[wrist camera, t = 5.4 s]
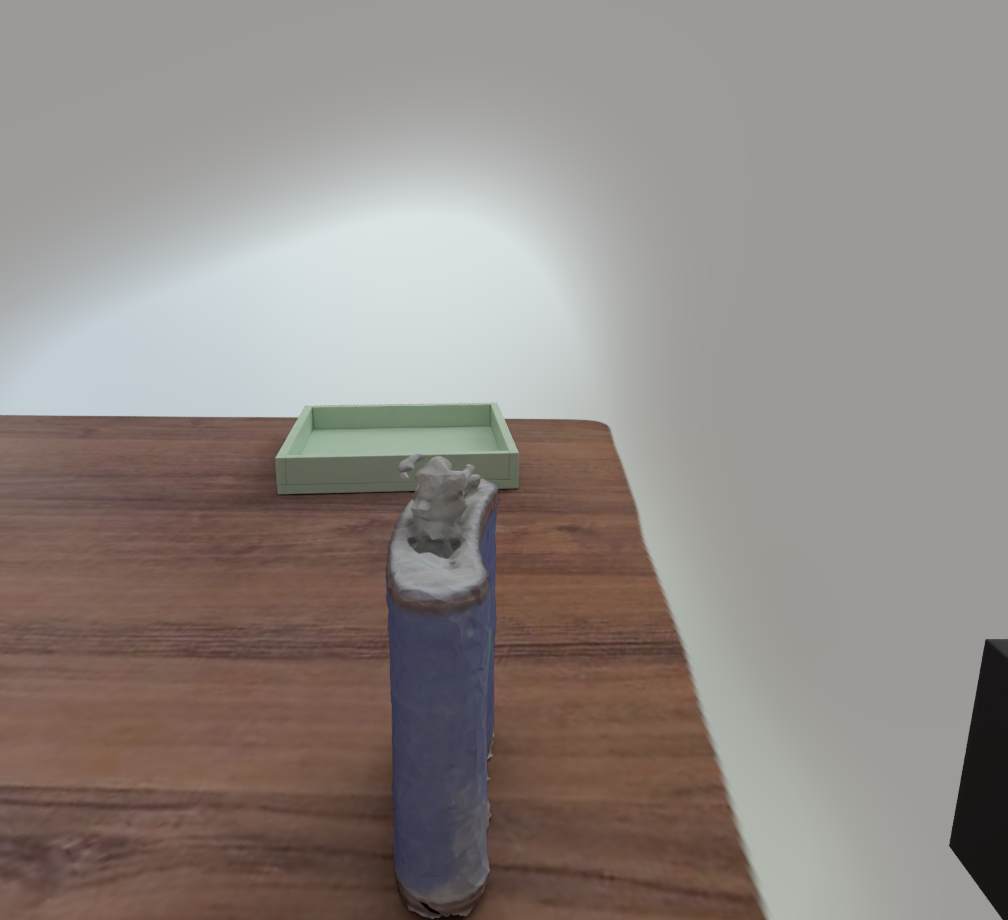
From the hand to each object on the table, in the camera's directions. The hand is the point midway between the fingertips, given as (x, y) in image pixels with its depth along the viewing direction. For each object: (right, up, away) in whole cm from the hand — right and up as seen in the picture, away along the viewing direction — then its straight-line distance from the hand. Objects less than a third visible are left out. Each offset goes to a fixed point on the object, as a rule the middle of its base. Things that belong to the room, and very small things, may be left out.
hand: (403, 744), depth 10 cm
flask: (-1, -7, +16) cm, 18 cm away
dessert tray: (-6, +3, +52) cm, 53 cm away
